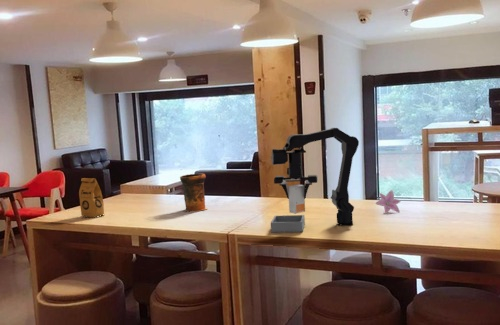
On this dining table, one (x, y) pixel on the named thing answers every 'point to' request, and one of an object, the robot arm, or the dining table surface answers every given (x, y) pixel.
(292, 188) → the skincare box
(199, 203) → the vessel
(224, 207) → the dining table surface
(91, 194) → the coffee package
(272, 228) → the box
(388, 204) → the lily
